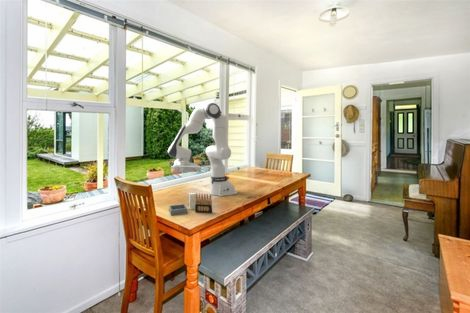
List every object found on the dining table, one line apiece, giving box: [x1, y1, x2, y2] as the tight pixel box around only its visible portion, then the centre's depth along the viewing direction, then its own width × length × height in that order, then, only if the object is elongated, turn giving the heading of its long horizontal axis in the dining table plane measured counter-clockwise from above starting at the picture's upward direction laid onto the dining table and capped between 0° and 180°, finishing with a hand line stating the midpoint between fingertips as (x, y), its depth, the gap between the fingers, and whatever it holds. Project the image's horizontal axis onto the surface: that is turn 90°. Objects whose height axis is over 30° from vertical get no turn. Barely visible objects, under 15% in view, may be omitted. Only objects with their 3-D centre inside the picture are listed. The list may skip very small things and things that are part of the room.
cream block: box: [188, 192, 196, 211], centre depth 165 cm, size 4×4×10 cm
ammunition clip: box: [194, 192, 213, 214], centre depth 157 cm, size 11×2×12 cm, turn 81°
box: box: [168, 203, 188, 216], centre depth 158 cm, size 10×10×3 cm
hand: (190, 170), depth 173 cm, fingers open, 8 cm apart
